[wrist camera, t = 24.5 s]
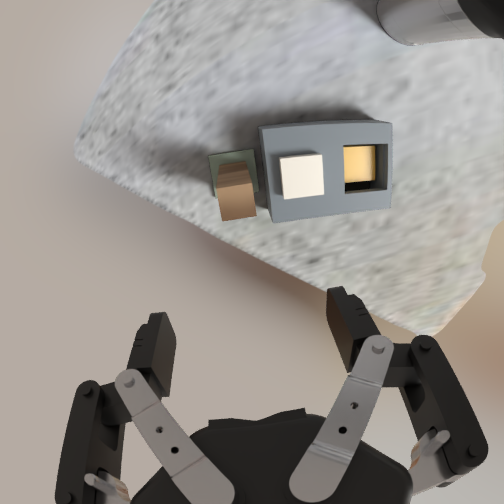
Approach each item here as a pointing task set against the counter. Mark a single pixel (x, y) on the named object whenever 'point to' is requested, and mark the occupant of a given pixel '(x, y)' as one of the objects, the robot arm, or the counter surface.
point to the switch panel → (326, 166)
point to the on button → (301, 175)
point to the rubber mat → (233, 158)
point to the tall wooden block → (235, 191)
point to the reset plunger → (359, 162)
